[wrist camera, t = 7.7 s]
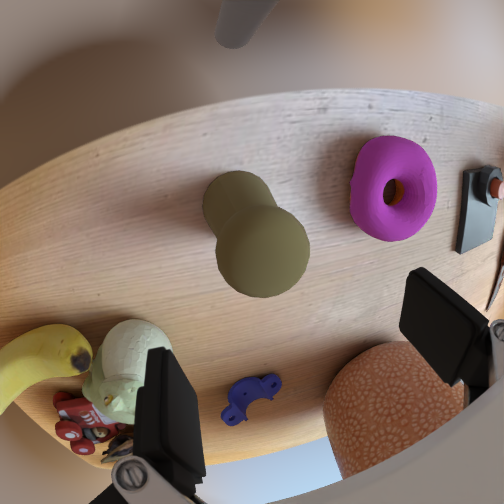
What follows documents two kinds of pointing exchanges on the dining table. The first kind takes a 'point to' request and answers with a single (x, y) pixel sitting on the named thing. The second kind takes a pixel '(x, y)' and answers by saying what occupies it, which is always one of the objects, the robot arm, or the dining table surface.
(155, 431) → the robot arm
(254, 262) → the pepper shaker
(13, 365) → the banana
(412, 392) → the planter
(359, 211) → the donut
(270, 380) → the bracket
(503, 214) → the dining table surface
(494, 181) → the button
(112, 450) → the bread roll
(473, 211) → the push button panel
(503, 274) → the kitchen knife
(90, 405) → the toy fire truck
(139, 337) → the figurine
